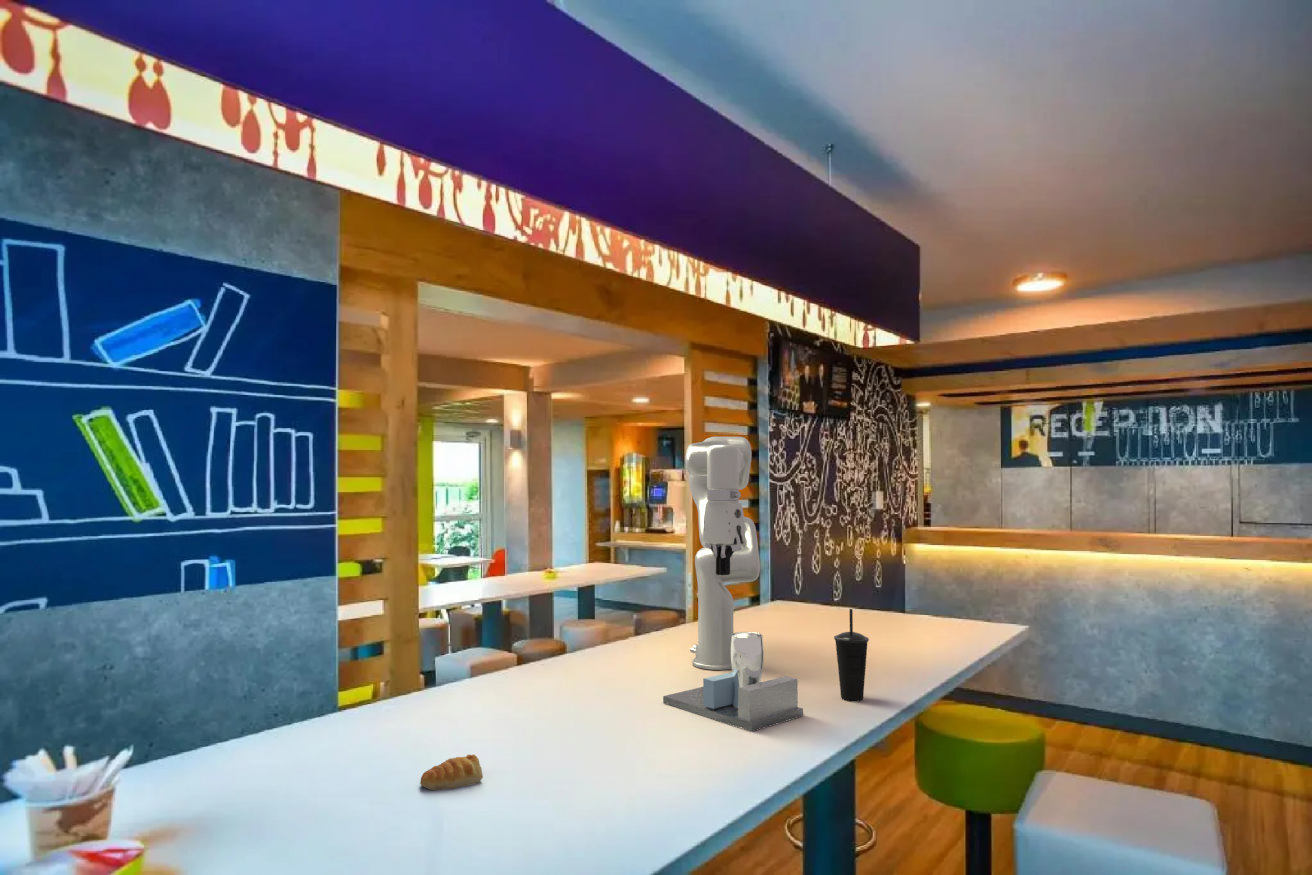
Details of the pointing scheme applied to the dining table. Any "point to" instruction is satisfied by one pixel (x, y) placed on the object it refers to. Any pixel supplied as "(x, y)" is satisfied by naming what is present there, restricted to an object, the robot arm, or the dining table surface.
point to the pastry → (453, 773)
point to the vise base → (724, 711)
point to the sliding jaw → (718, 690)
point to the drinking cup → (851, 662)
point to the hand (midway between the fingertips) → (723, 574)
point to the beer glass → (746, 660)
